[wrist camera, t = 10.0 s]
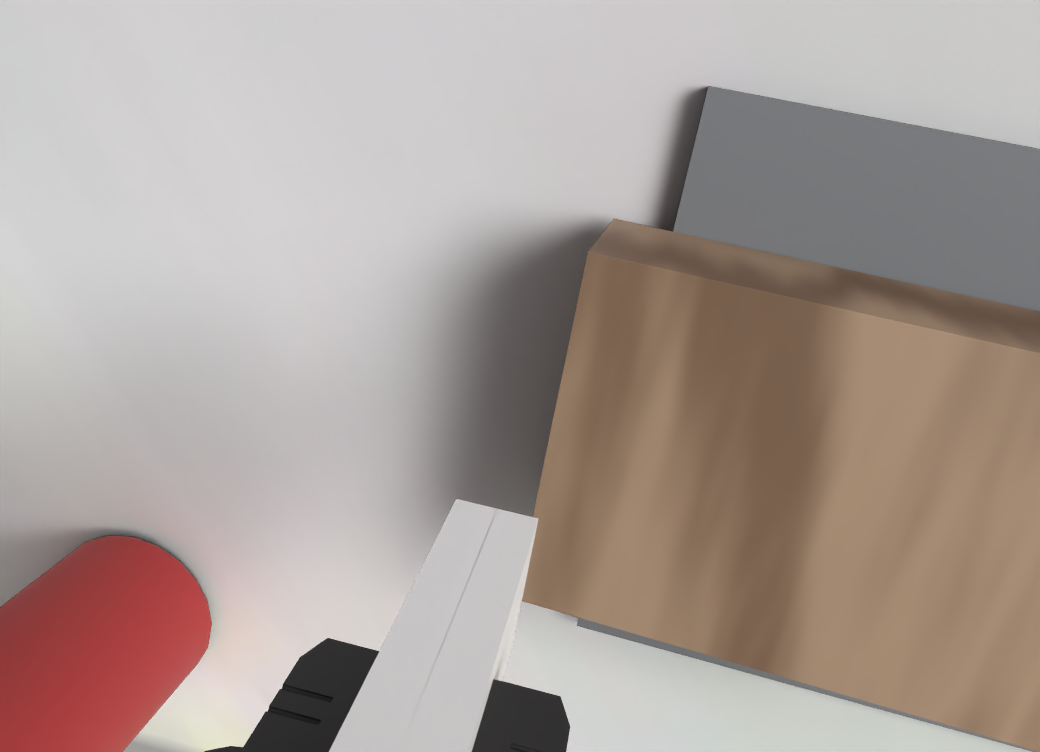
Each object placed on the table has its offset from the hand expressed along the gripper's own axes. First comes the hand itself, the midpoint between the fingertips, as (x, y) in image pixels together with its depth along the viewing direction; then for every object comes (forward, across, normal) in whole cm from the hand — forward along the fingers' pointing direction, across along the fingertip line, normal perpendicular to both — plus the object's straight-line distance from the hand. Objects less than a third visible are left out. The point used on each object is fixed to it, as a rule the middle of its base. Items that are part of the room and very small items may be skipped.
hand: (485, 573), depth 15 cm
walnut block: (+9, 0, 0) cm, 9 cm away
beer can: (+13, -15, -14) cm, 25 cm away
